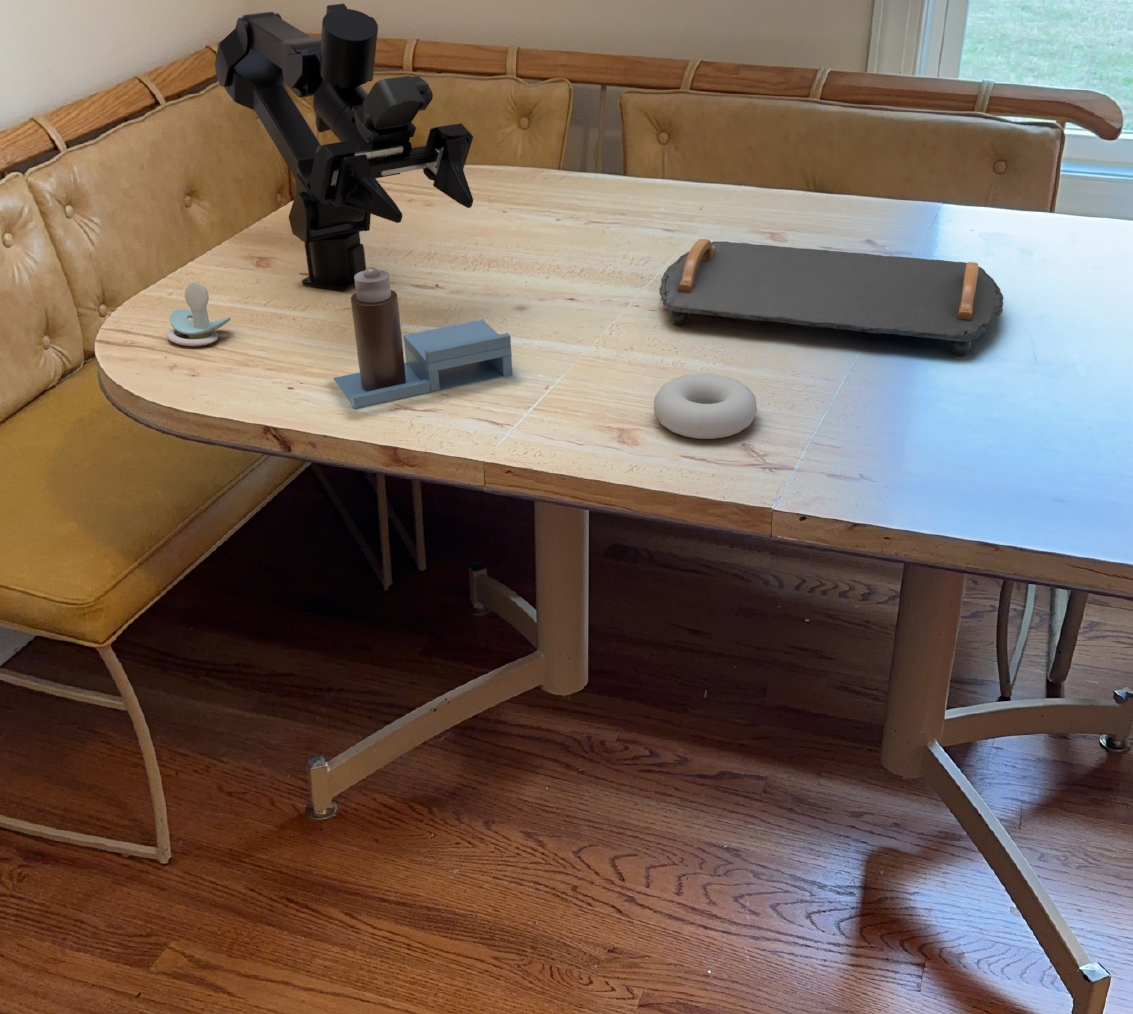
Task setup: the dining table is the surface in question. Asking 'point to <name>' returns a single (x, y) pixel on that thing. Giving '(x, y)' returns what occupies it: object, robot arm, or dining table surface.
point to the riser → (440, 363)
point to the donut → (705, 406)
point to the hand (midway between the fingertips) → (436, 211)
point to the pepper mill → (377, 331)
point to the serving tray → (834, 291)
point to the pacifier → (194, 319)
